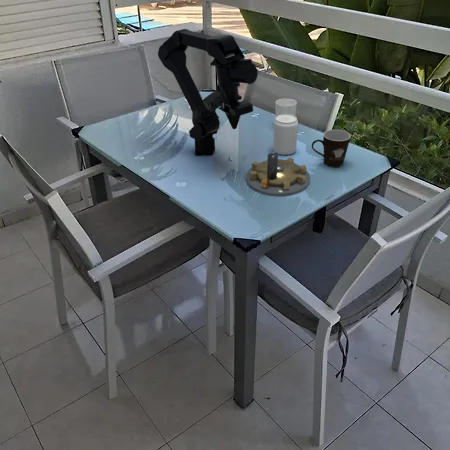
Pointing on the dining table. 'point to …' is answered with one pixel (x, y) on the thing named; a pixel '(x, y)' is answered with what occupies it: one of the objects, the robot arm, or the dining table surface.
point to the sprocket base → (275, 190)
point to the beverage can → (285, 134)
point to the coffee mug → (334, 147)
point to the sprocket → (278, 172)
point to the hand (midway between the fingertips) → (234, 128)
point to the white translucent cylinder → (286, 107)
